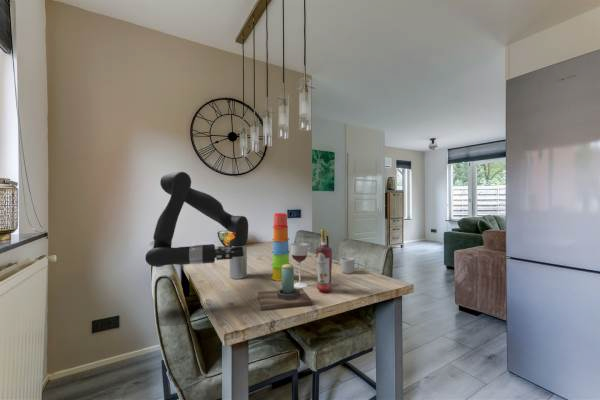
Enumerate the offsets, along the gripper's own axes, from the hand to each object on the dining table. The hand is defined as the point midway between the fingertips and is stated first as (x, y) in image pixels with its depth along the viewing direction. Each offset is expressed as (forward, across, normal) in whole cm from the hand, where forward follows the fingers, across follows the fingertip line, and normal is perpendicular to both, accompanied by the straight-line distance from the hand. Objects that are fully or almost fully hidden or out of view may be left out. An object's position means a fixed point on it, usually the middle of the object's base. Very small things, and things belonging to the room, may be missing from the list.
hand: (243, 251), depth 112 cm
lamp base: (+16, -6, +20) cm, 27 cm away
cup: (+59, +24, +22) cm, 67 cm away
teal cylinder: (+18, -6, +19) cm, 27 cm away
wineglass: (+27, +11, +21) cm, 36 cm away
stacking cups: (+20, +25, +21) cm, 39 cm away
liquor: (+36, 0, +21) cm, 42 cm away
